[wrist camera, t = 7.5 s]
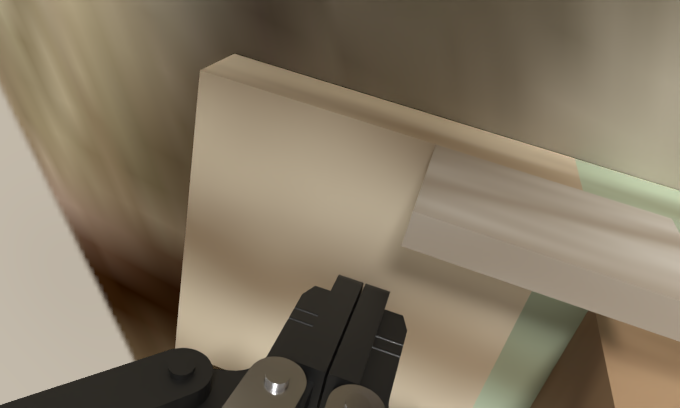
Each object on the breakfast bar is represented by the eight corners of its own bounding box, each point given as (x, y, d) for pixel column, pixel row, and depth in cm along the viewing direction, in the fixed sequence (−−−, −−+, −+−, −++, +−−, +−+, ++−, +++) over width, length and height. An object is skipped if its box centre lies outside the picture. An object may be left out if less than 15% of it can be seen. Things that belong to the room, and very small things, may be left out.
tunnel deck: (234, 53, 16) (113, 111, 11) (1028, 298, 13) (1324, 514, 8) (203, 314, 21) (111, 430, 16) (771, 530, 18) (862, 747, 13)
